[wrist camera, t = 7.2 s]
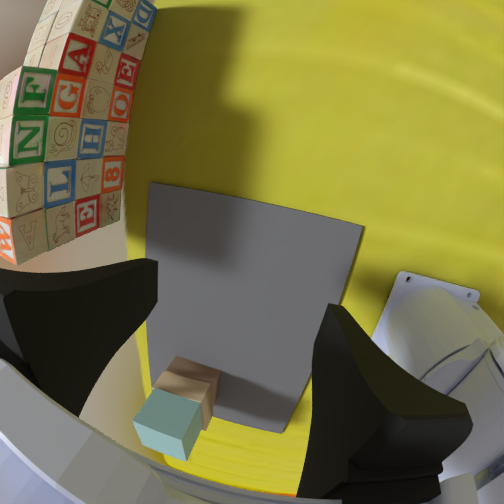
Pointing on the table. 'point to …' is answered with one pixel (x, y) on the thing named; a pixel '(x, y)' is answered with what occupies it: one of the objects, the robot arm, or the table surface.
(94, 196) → the stack of blocks
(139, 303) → the robot arm
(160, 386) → the oak slab
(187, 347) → the rubber mat
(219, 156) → the table surface
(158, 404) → the teal cube
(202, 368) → the walnut slab
